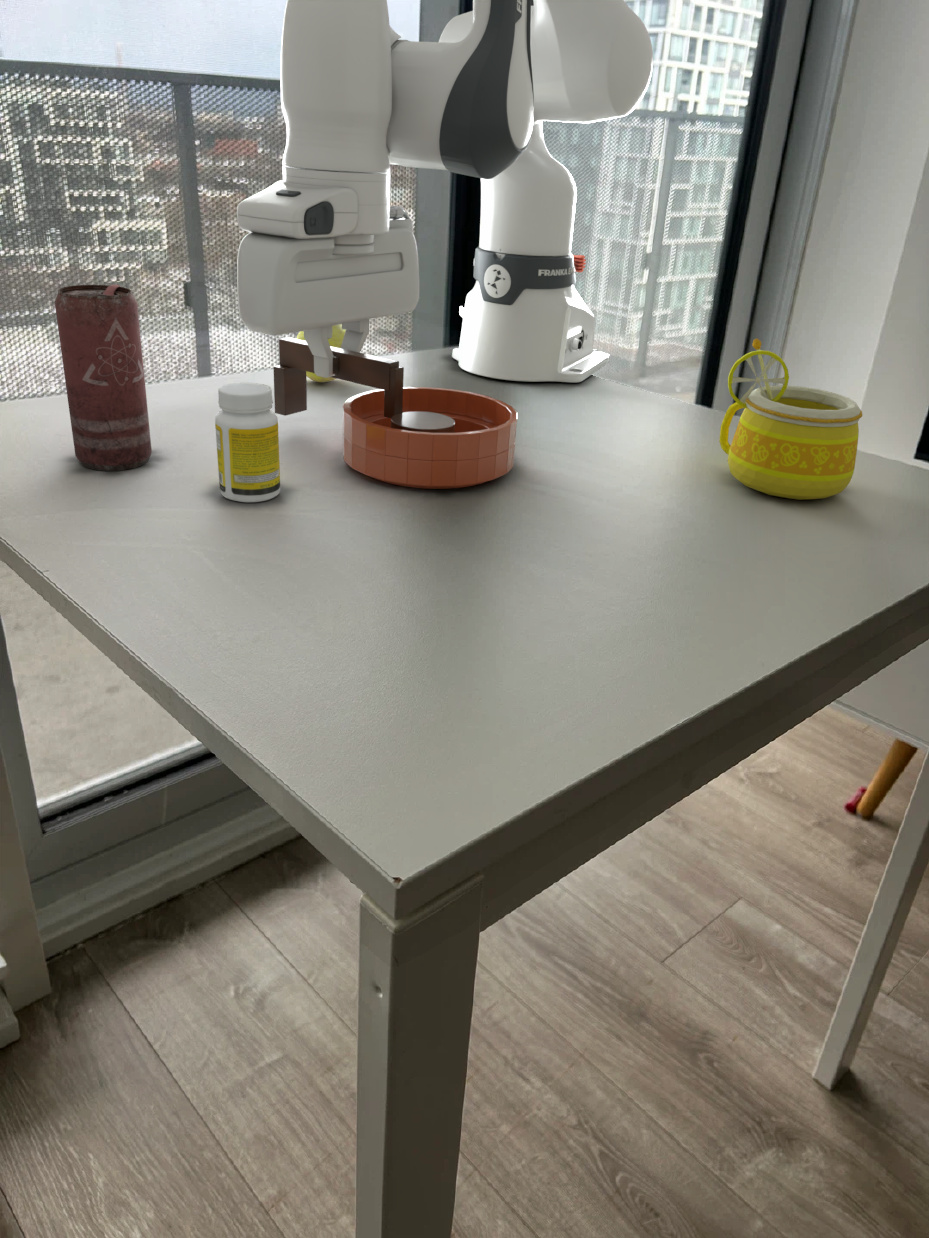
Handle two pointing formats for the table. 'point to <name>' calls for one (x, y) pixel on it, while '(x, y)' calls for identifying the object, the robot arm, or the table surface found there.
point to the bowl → (430, 439)
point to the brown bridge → (353, 369)
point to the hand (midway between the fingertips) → (337, 373)
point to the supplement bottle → (247, 443)
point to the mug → (790, 436)
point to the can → (104, 375)
